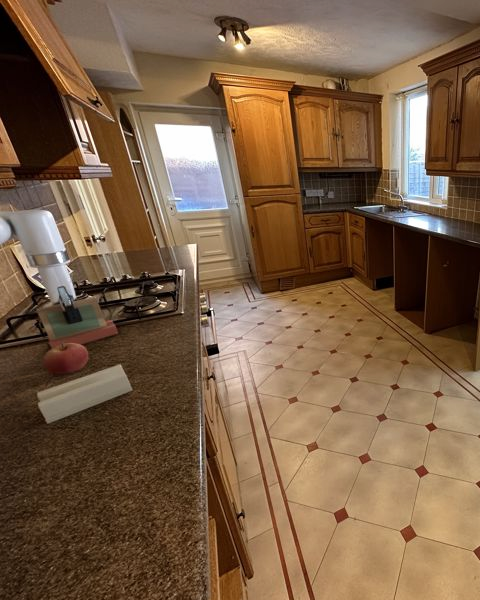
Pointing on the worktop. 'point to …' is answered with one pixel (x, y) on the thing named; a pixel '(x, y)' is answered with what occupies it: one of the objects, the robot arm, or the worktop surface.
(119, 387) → the holder
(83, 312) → the frame
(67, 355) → the apple
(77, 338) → the stand
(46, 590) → the worktop surface
